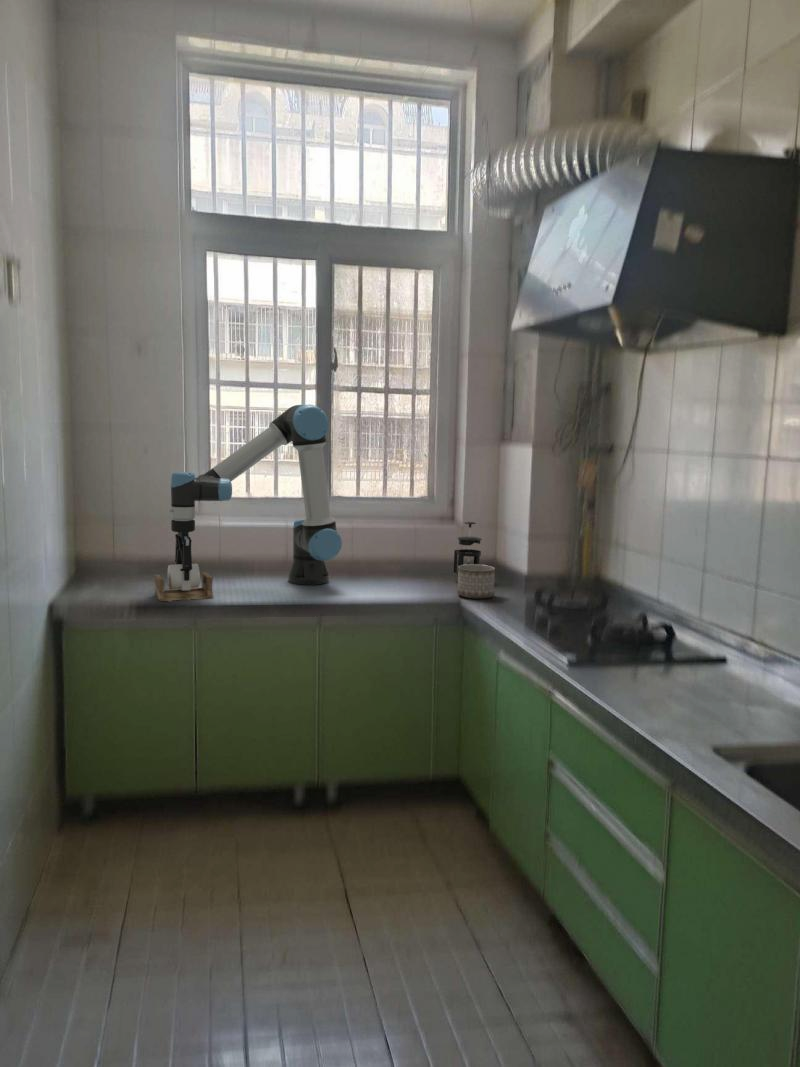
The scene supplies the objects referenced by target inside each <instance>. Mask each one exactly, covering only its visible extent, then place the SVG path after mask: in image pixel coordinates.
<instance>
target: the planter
mask: <svg viewBox="0 0 800 1067" xmlns="http://www.w3.org/2000/svg"><path fill="white" fill-rule="evenodd" d="M465 564H466V565H460V566H457V571H458V583H457V593H456V594H457V595H459V596H461V597H463V598H464V597H465V598H467V597H470V598H469V599H471V598H483V599H486V598H487V599H488V598H492V597H493V596H494V594H495V574H496V568H495V567H494V566H491V565H487V564H480V563H479V564H474V563H473V564H472V563H470V564H467V563H465Z"/></svg>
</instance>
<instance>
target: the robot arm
mask: <svg viewBox="0 0 800 1067" xmlns="http://www.w3.org/2000/svg"><path fill="white" fill-rule="evenodd" d="M268 426H269V427H267V428H266V429H264V430H263V431H262V432H260V433H259V434H257V435H256V436H255V437H254V438H252V439H251V440H249V441H248V442H246V443H245V444H244V445H242V446H241V447H240V448H238V449H236V450H235V451H234V452H233V453H231V454H230V455H228V456H227V457H226V458H224V459H223V460H222V461H220V462H219V463H218V464H216V465H215V466H214V467H212V468H210V470H208V471H207V472H205V473H204V474H200V475H198V476H196V474H195V473H194V472H192V471H175V472H173V473H172V474H171V480H170V481H171V484H170V498H171V499H170V505H171V507H170V508H171V509H169V512H170V513H171V518H172V519H171V522H170V523H171V525H170V529H171V531H172V532H175V535H174V536H175V556H174V562H175V565H177V564H182V569H180V571H182V588H181V589H182V590H191V589H192V588H191V580H190V570H192V564H193V562H192V561H193V560H192V558H193V556H192V542H193V541H192V540H193V539H191V536H189V533H190V532H191V533H192V532H193V533H194V532H195V530H196V520H195V518H196V502H211V501H212V502H225V501H230V500H231V498H232V496H233V484H232V481H234V480H235V479H237V478H239V476H241V475H242V474H243V473H246V471H248V470H249V469H250V468H252V467H254V465H256V464H258V463H259V462H260V461H261V460H263V459H264V458H266V457H267V456H268V455H270V454H272V452H274V451H275V450H277V449H278V448H279V447H281V446H287V445H288V444H290V443H292V447H293V448H294V449H296V450H297V456H298V463H299V471H300V472H299V473H300V480H301V488H302V495H303V496H302V497H303V502H304V503H303V504H304V513H305V519H296V520H294V522H293V528H292V531H293V533H292V535H293V540H292V542H293V543H292V550H293V552H292V563H291V566H290V569H289V572H288V576H287V582H289V583H290V584H296V585H309V586H310V585H312V586H313V585H314V586H315V585H324V584H327V583H330V573H329V570H328V567H327V564H326V562H328V561H330V560H332V559H334V558H336V557H337V556H338V555H339V553H340V552H341V549H342V547H343V546H342V545H343V541H342V537H341V535H340V533H339V532H338V531H337V524H336V522H337V521H336V519H335V518H334V517H333V516H332V515H331V510H330V509H331V508H330V500H329V494H328V493H329V492H328V491H329V490H328V483H327V475H326V466H325V456H324V447H325V445H326V444H327V437H326V436H327V435H326V433H327V431H328V429H329V419H328V416H327V414H326V413H325V411H324V410H323V409H322V408H320V407H319V406H315V405H313V404H295V405H293V406H291V407H289V408H288V409H286V410H285V411H284V412H282V413H281V414H280V415H278V416H277V417H276V418H275V419H273V420H272V421H271V422H270V423H269V425H268Z"/></svg>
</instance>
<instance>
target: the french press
mask: <svg viewBox="0 0 800 1067" xmlns="http://www.w3.org/2000/svg"><path fill="white" fill-rule="evenodd" d="M476 523H477V522H474V521H466V522H464V524H466V525H468V528H469V529H468V530H469V532H468V533H469V535H468V536H459V537H457V540H458V544H459V545H460V546H468V548H463V549H455V550H454V551H453V552H454V553H453V554H454V555H453V558H454V559H453V573H455V574H456V575H455V581H454V582H455V583H456V584H458V566H460V565H466V564H471V563H470V557H471V558H472V557H473V564H479V565H480V556H481V555H482V553H481V552H482V551H481V550H478V549H470V548H471V547H470V546H472V545H473V544H479V545H480V544H481V541H482V537H477V536H471V528H472V526H473V525H476ZM465 557H468V559H467V563H464V560H465V559H464V558H465Z"/></svg>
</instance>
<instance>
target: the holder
mask: <svg viewBox="0 0 800 1067" xmlns="http://www.w3.org/2000/svg"><path fill="white" fill-rule="evenodd" d="M155 595H156V596H157V597H156V596H155ZM154 596H155V597H156V599H157V600H158V599H159V600H160V601H168V602H173V601H172V600H182V601H191V600H190V599H197V600H207V599H209V600H210V599H214V595H213V576H212V575H211V574H210V573H208V572H207V571H203V572H201V587H197V588H191V590H182V588H181V589H165V579H164V577H162V576H161V575H160V574H154ZM159 600H158V601H159ZM160 601H159V602H160Z"/></svg>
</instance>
